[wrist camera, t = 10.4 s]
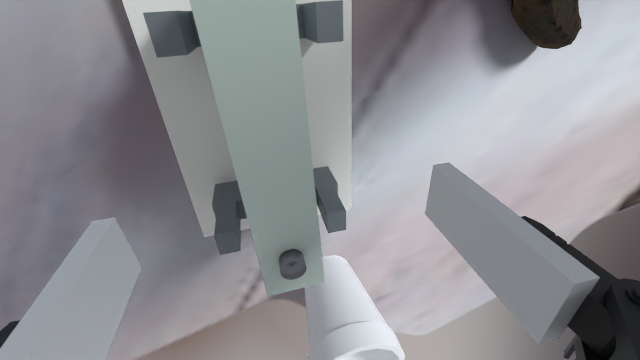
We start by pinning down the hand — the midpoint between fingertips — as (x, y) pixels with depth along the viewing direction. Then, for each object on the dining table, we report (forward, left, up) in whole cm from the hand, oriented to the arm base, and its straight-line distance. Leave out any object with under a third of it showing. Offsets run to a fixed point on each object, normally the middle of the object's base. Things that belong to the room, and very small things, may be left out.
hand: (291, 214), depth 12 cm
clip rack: (0, 0, -17) cm, 17 cm away
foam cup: (-5, +23, -17) cm, 29 cm away
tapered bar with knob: (0, 0, -12) cm, 12 cm away
